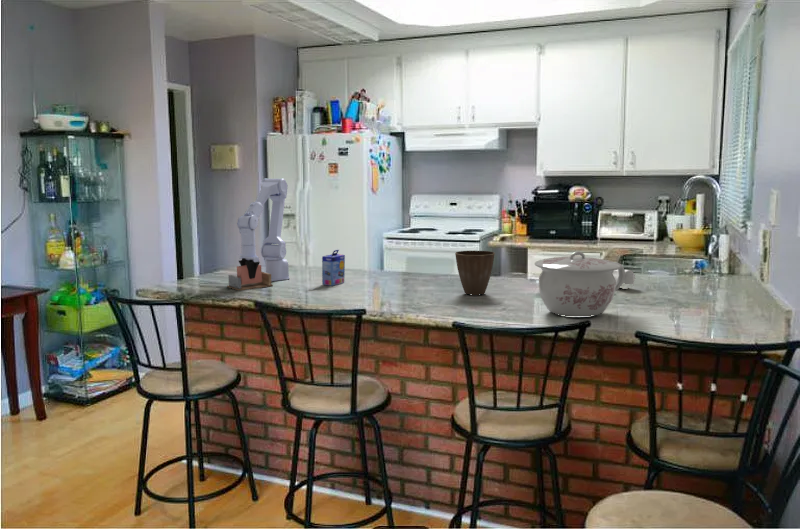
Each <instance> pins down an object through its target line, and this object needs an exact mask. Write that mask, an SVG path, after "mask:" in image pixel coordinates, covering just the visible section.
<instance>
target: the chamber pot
mask: <svg viewBox="0 0 800 529" xmlns="http://www.w3.org/2000/svg"><path fill="white" fill-rule="evenodd" d="M534 265H535V266H536V267H538V268H540V269H541V272H540V274H539V275H538V288H539V289H538V290H539V296H540V299H541V300H542V302H543V303H544V305H545V307H546V308H547V310H548V311H549V312H550V313H553V314H554V313H555V315H557V314H559V315H565V316H591V315H597V314H600V313H602V314H603V313H604V312H605V311H606V310H607V309H608V307H609V306H610V305H611V303H612V302H613V300H614V296H615V293H616V292H617V291H618V290H620V289H619V288H620V286H621V285H622V284H623V282H624V279H625V270H626V269H625V268H624V266H623V265H622V264H621V263H620V262H619V261H618V262H614V261H612V260H608V259H603V258H600V257H599V258H597V257H590V256H586V254H584V253H583V252H581V251H574V252H572V254H570V256H557V257H556V256H555V257H548V258H544V259H543V258H542V259H539V260H537V261H535V262H534ZM614 270H618V272H619V276H618V279H617V282H616V280H615V278H614V276H613V274H612V273H613V271H614ZM559 315H558V316H559ZM600 315H601V314H600ZM597 316H598V315H597Z"/></svg>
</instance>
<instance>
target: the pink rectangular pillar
mask: <svg viewBox="0 0 800 529" xmlns="http://www.w3.org/2000/svg"><path fill="white" fill-rule="evenodd" d="M262 272H263V271H262V265H261V264H259V265H258V267H257V270H256V275H255V278H252V279H250V278H249V273H248V268H247V265H245V266H241V265H239V266H236V276H237V277H241V285H243V284H250V283H258V282H262Z"/></svg>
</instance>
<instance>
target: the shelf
mask: <svg viewBox="0 0 800 529" xmlns="http://www.w3.org/2000/svg"><path fill="white" fill-rule="evenodd" d="M228 287H229V289H231V288H232V290H234V289H235V290H234V291H237V290H238V291H239V290H240V291H247V290H252V289H253V290H254V289H262V287H263V288H269V287H273V284H272V281H271V274H269V273H266V271H262V282H258V283H250V284H243V285H241V289H237V288H234V287H231V286H229V285H227V288H228ZM246 289H247V290H246Z"/></svg>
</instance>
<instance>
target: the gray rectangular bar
mask: <svg viewBox="0 0 800 529" xmlns="http://www.w3.org/2000/svg"><path fill="white" fill-rule="evenodd" d="M228 286H231V287H234V288H237V289H241V277H237V275H234V274H228Z"/></svg>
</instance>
